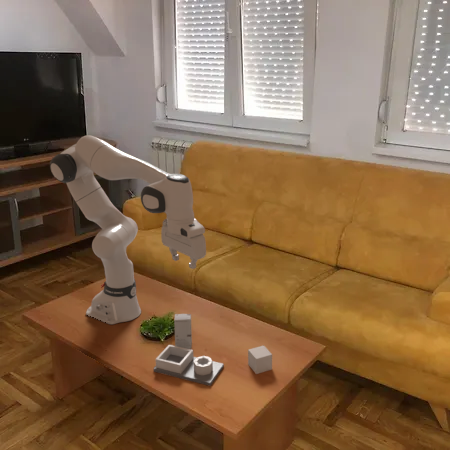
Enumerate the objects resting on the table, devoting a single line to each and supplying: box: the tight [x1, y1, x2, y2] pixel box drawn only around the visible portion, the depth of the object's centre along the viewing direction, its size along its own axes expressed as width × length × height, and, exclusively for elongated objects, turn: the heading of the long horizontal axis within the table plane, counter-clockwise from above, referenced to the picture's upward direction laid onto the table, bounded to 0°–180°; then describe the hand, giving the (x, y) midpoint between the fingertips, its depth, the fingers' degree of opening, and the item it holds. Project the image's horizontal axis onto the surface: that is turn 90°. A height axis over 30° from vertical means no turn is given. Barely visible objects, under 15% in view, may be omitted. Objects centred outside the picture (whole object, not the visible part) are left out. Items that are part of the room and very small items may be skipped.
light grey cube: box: [247, 345, 273, 375], centre depth 173 cm, size 6×6×6 cm
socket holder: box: [153, 344, 225, 387], centre depth 173 cm, size 21×11×4 cm, turn 67°
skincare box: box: [173, 313, 193, 350], centre depth 185 cm, size 6×4×12 cm
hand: (184, 263), depth 170 cm, fingers open, 8 cm apart
